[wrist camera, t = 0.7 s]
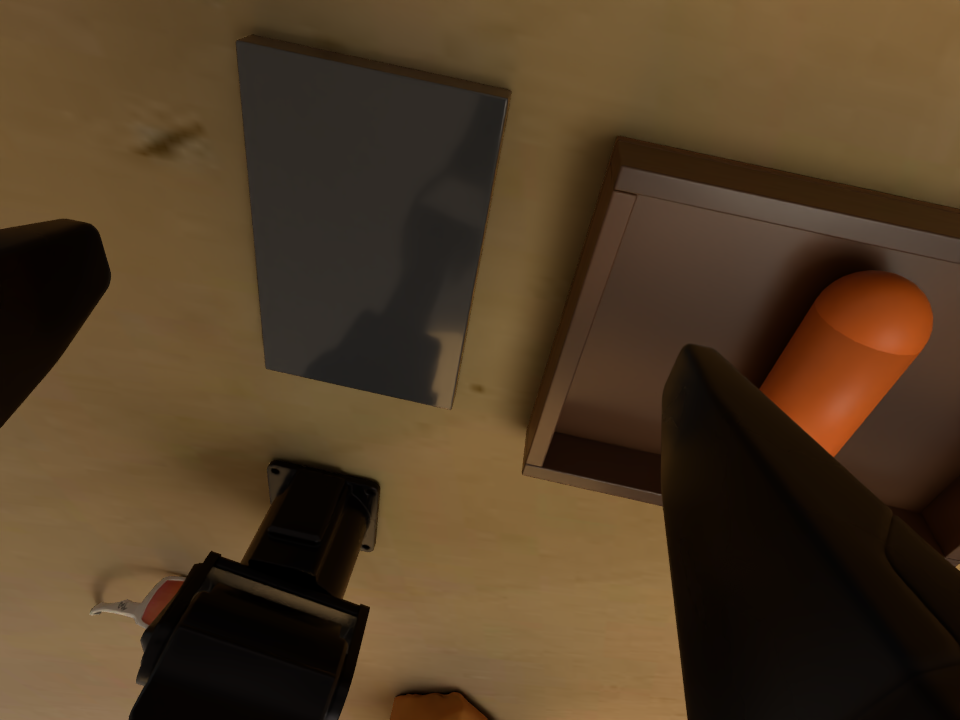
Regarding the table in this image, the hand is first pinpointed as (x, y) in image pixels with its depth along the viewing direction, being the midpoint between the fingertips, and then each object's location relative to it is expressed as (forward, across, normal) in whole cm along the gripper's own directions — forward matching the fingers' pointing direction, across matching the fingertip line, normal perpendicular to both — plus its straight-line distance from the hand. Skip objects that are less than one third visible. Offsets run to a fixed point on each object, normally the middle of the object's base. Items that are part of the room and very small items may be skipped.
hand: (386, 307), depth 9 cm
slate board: (+14, +4, +7) cm, 16 cm away
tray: (+14, -14, +8) cm, 21 cm away
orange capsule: (+13, -14, +8) cm, 21 cm away
